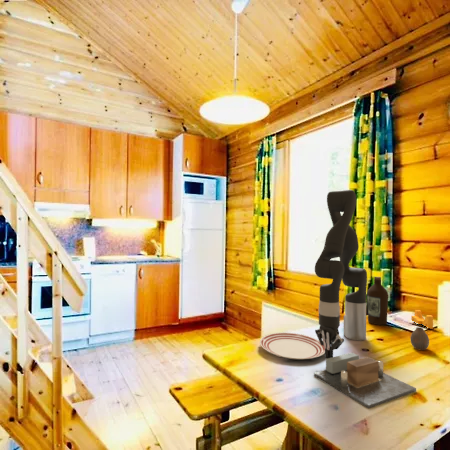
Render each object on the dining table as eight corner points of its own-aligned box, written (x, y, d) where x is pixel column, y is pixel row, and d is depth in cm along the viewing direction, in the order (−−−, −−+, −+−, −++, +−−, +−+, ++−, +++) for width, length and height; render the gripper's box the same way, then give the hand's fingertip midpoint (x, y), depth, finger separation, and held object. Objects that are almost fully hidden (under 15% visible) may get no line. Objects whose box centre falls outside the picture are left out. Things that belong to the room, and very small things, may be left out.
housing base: (314, 377, 108) (314, 359, 108) (358, 364, 118) (358, 349, 118) (368, 410, 88) (368, 389, 88) (416, 392, 98) (416, 373, 98)
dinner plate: (337, 350, 132) (337, 342, 132) (305, 372, 112) (305, 363, 112) (282, 335, 151) (282, 328, 151) (246, 351, 131) (246, 343, 131)
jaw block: (346, 380, 103) (347, 362, 103) (368, 374, 107) (368, 356, 107) (356, 385, 99) (356, 367, 99) (378, 379, 104) (378, 361, 104)
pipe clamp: (411, 321, 174) (411, 310, 174) (419, 321, 174) (419, 310, 174) (424, 328, 162) (424, 316, 162) (433, 328, 162) (433, 316, 162)
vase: (406, 345, 138) (406, 325, 138) (421, 345, 139) (421, 325, 139) (417, 351, 131) (417, 331, 131) (433, 351, 132) (433, 330, 132)
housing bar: (326, 370, 109) (326, 358, 109) (352, 363, 115) (352, 352, 115) (332, 373, 107) (332, 362, 107) (358, 366, 112) (358, 355, 112)
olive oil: (373, 318, 179) (373, 275, 179) (391, 323, 170) (392, 277, 170) (363, 321, 173) (363, 276, 173) (381, 326, 164) (382, 279, 164)
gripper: (309, 309, 121) (309, 354, 121) (335, 318, 109) (334, 368, 109) (323, 307, 124) (323, 350, 124) (350, 316, 112) (350, 363, 112)
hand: (328, 358), depth 117 cm, fingers closed
